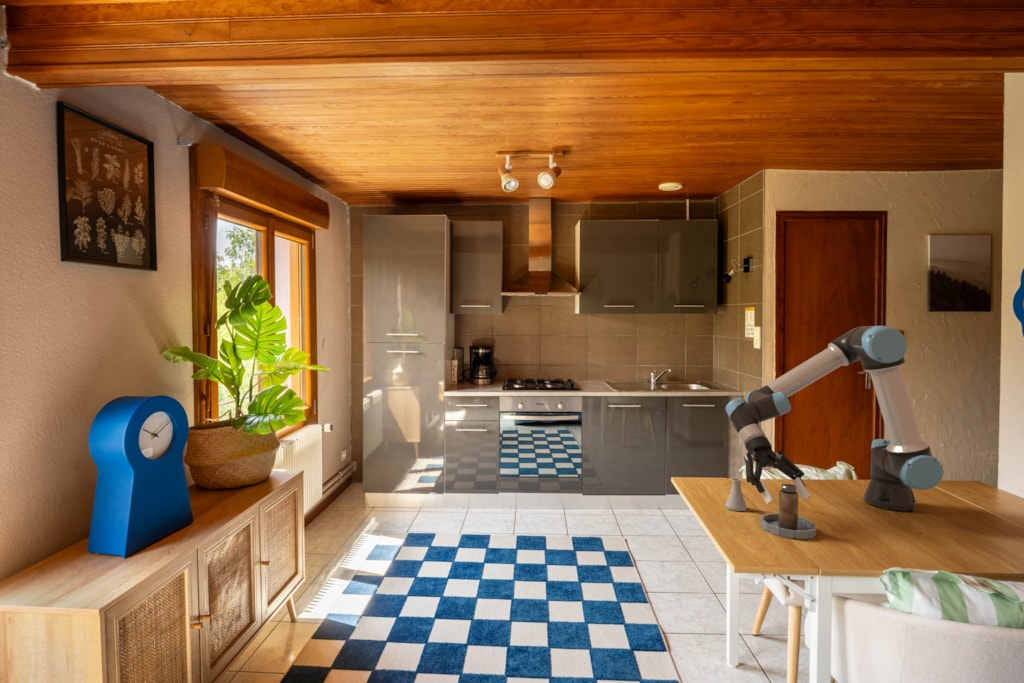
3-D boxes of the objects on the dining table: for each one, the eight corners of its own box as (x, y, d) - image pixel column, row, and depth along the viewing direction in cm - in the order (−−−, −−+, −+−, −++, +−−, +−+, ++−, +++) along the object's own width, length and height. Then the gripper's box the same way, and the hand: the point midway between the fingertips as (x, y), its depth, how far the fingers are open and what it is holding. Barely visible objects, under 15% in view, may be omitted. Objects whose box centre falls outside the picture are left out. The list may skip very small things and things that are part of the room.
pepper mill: (791, 524, 167) (793, 483, 166) (800, 531, 162) (802, 488, 161) (775, 524, 167) (776, 483, 166) (783, 530, 162) (784, 488, 161)
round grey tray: (799, 521, 172) (799, 513, 172) (826, 539, 157) (827, 531, 157) (752, 520, 172) (752, 513, 172) (775, 539, 157) (775, 531, 157)
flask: (749, 513, 179) (750, 483, 178) (726, 511, 180) (727, 481, 180) (744, 505, 186) (745, 477, 186) (722, 504, 187) (723, 475, 187)
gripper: (780, 445, 184) (814, 502, 170) (717, 449, 177) (748, 509, 163) (792, 432, 178) (829, 491, 164) (728, 436, 172) (760, 497, 158)
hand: (788, 500), depth 164 cm, fingers open, 13 cm apart
